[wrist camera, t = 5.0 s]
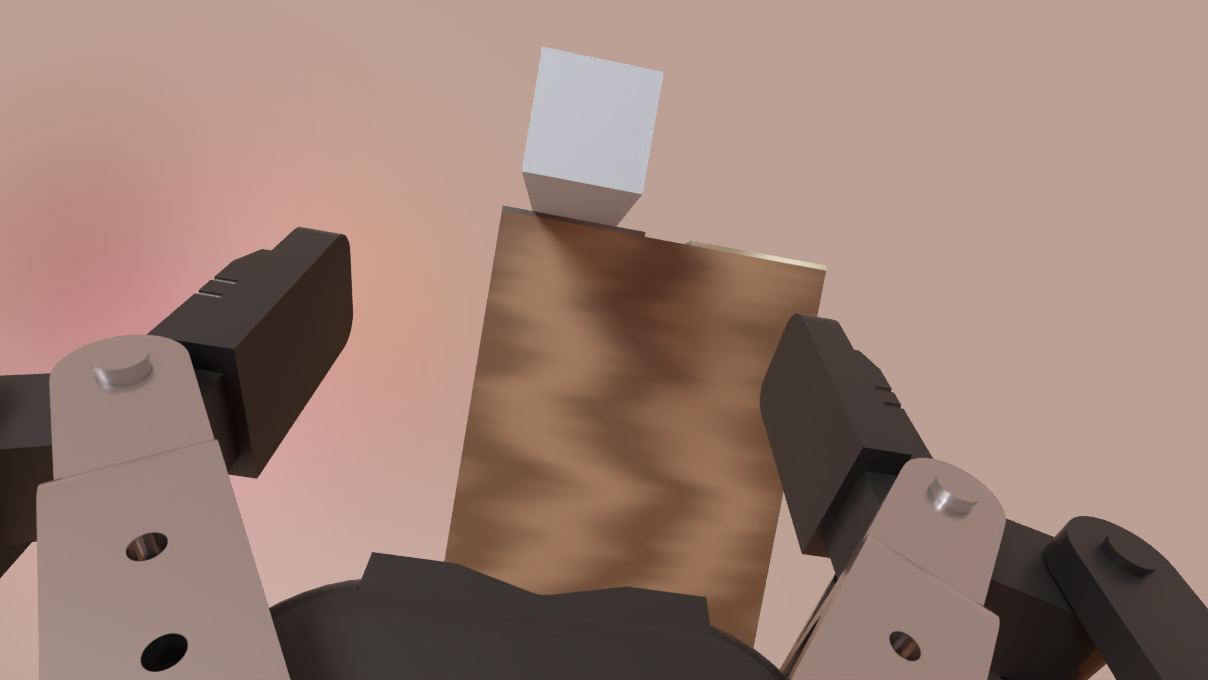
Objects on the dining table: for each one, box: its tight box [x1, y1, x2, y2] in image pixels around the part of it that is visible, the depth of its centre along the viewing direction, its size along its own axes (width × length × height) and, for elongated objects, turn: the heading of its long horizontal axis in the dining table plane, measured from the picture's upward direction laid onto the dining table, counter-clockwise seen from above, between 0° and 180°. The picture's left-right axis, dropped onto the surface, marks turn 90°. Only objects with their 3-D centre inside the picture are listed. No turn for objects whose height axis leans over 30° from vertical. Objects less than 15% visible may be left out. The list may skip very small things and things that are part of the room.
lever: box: [522, 47, 664, 227], centre depth 28 cm, size 4×20×4 cm, turn 4°
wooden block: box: [444, 206, 827, 648], centre depth 33 cm, size 14×12×32 cm
